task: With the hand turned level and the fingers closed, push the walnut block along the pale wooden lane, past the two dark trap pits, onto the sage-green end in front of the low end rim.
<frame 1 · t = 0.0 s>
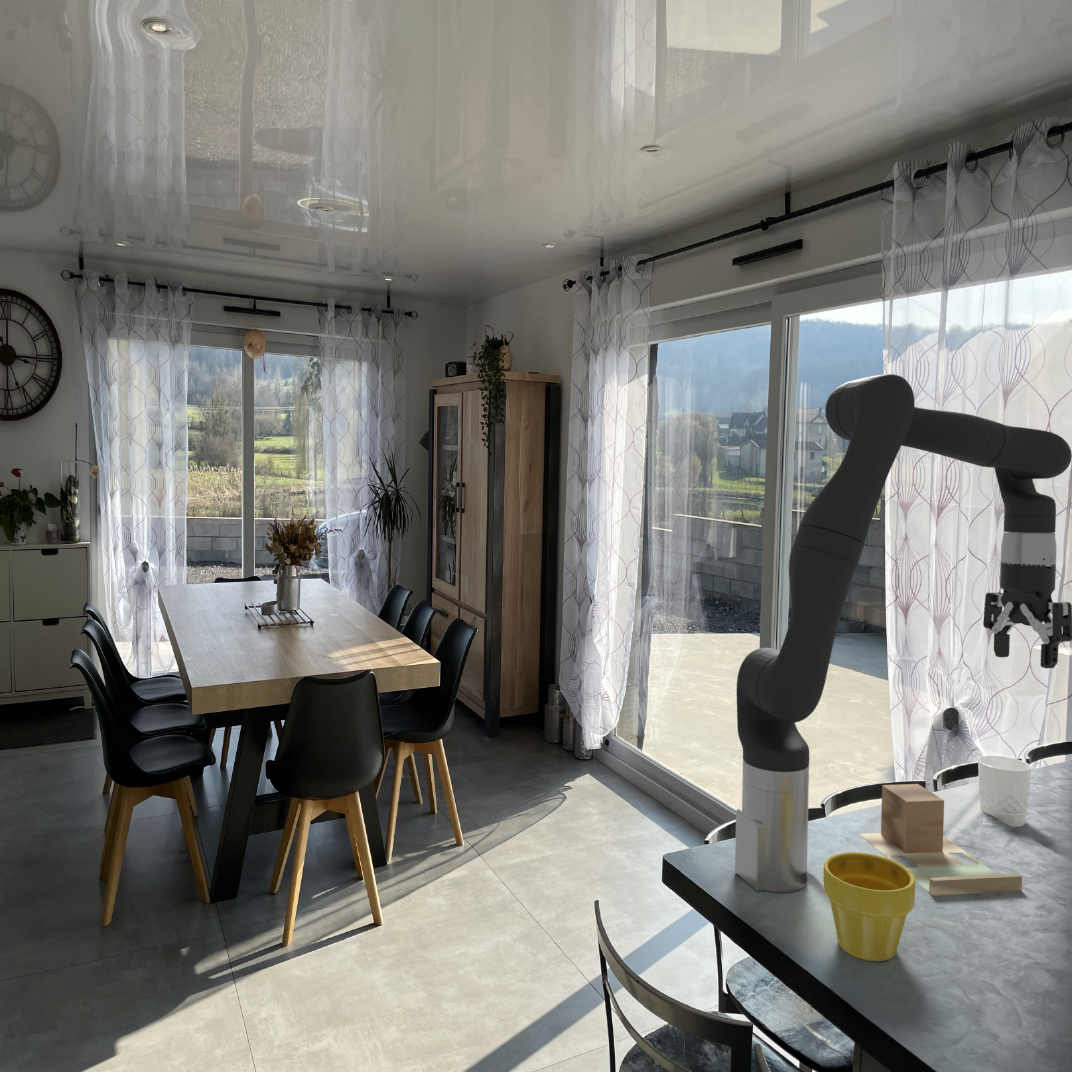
hand: (1024, 662, 129), 29 cm above the table, tool pointing down, fingers open, 8 cm apart
white cup: (1002, 821, 139), on the table
walnut block: (911, 842, 126), point 1 cm above the table, touching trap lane
plant pot: (866, 948, 100), on the table
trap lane: (933, 869, 120), on the table
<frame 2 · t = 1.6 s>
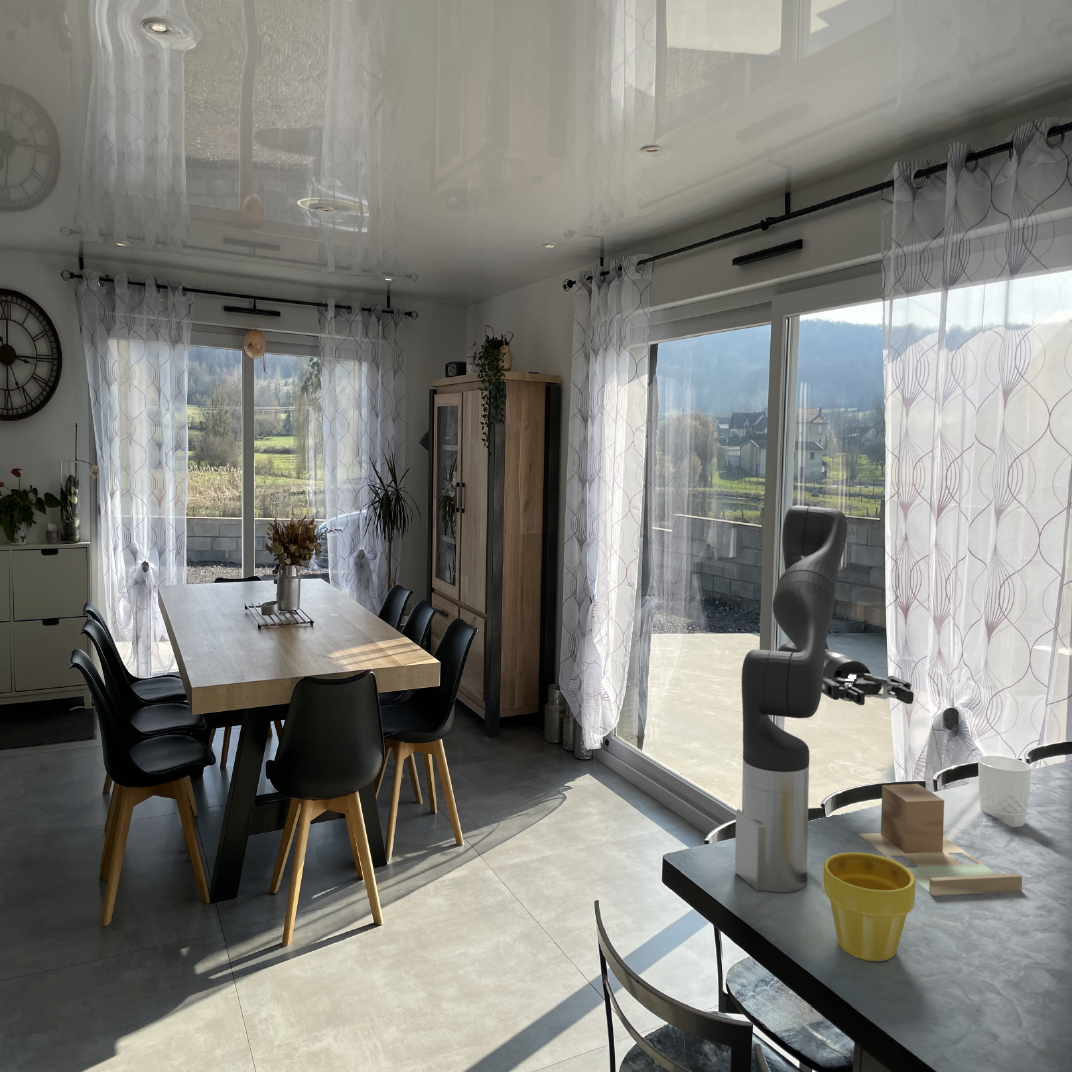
hand: (886, 698, 134), 22 cm above the table, tool horizontal, fingers open, 8 cm apart
nothing on the table moved.
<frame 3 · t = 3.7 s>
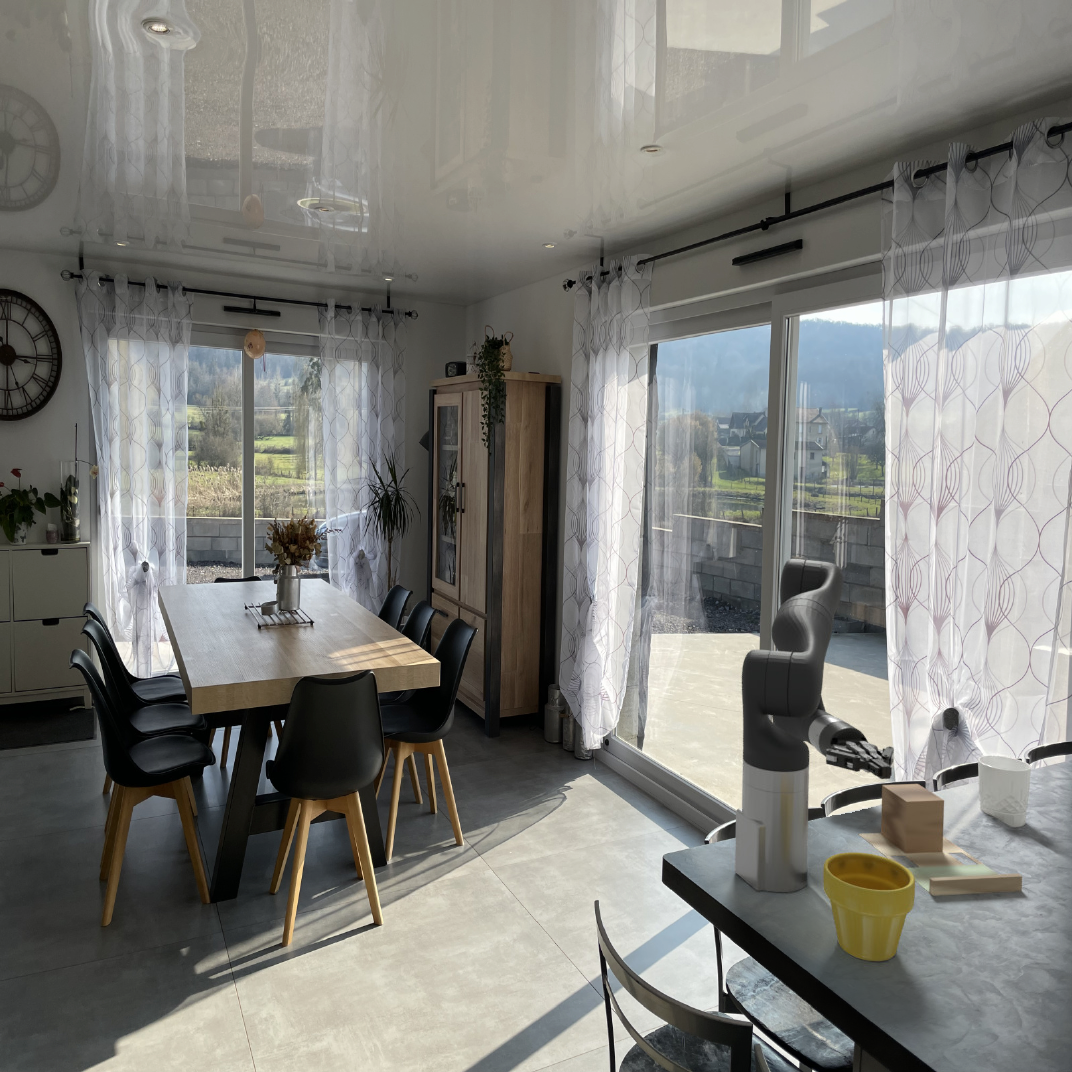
hand: (886, 773, 134), 10 cm above the table, tool horizontal, fingers closed
nothing on the table moved.
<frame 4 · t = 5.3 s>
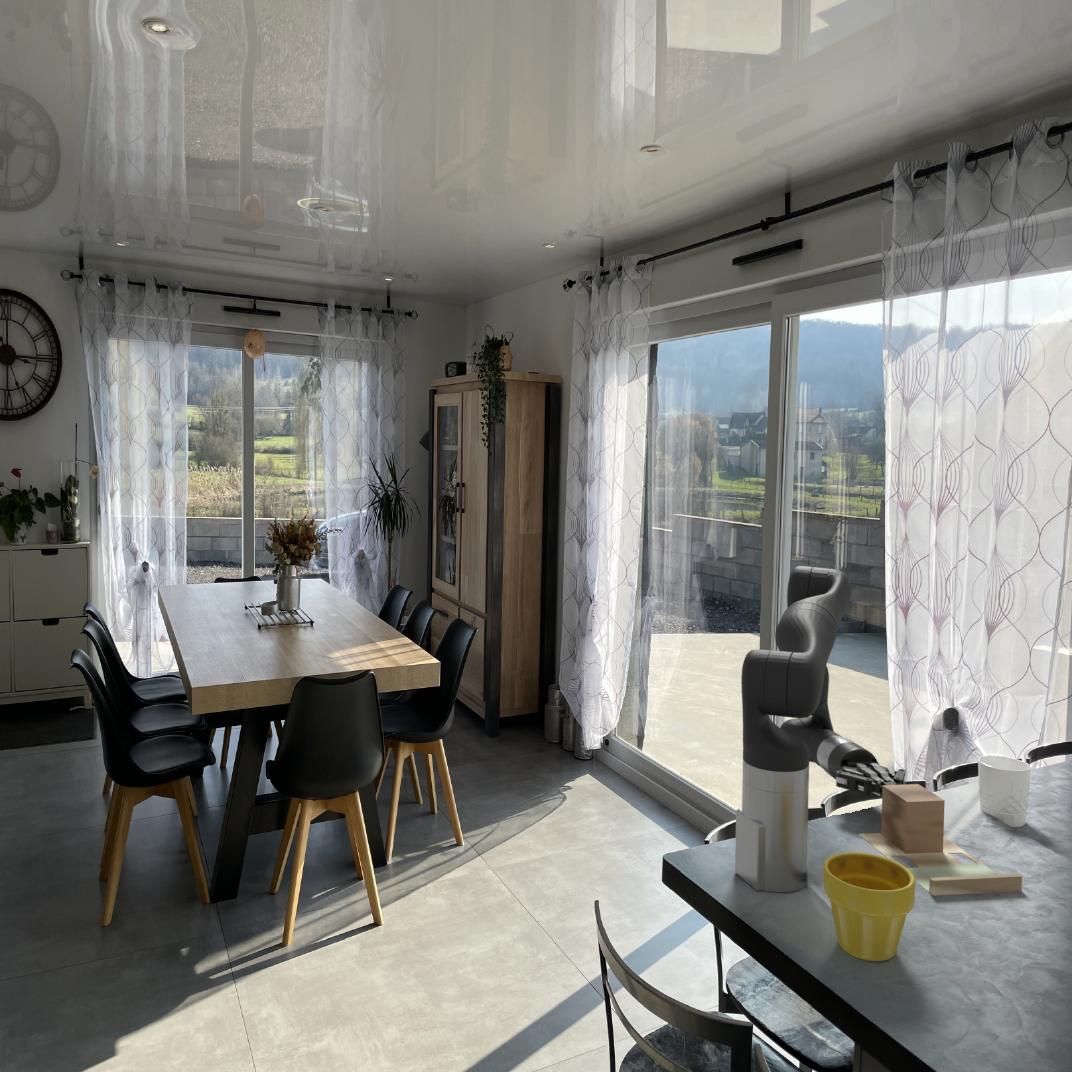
hand: (899, 797, 129), 7 cm above the table, tool horizontal, fingers closed
walnut block: (911, 843, 126), point 2 cm above the table, touching gripper
everything else where it was.
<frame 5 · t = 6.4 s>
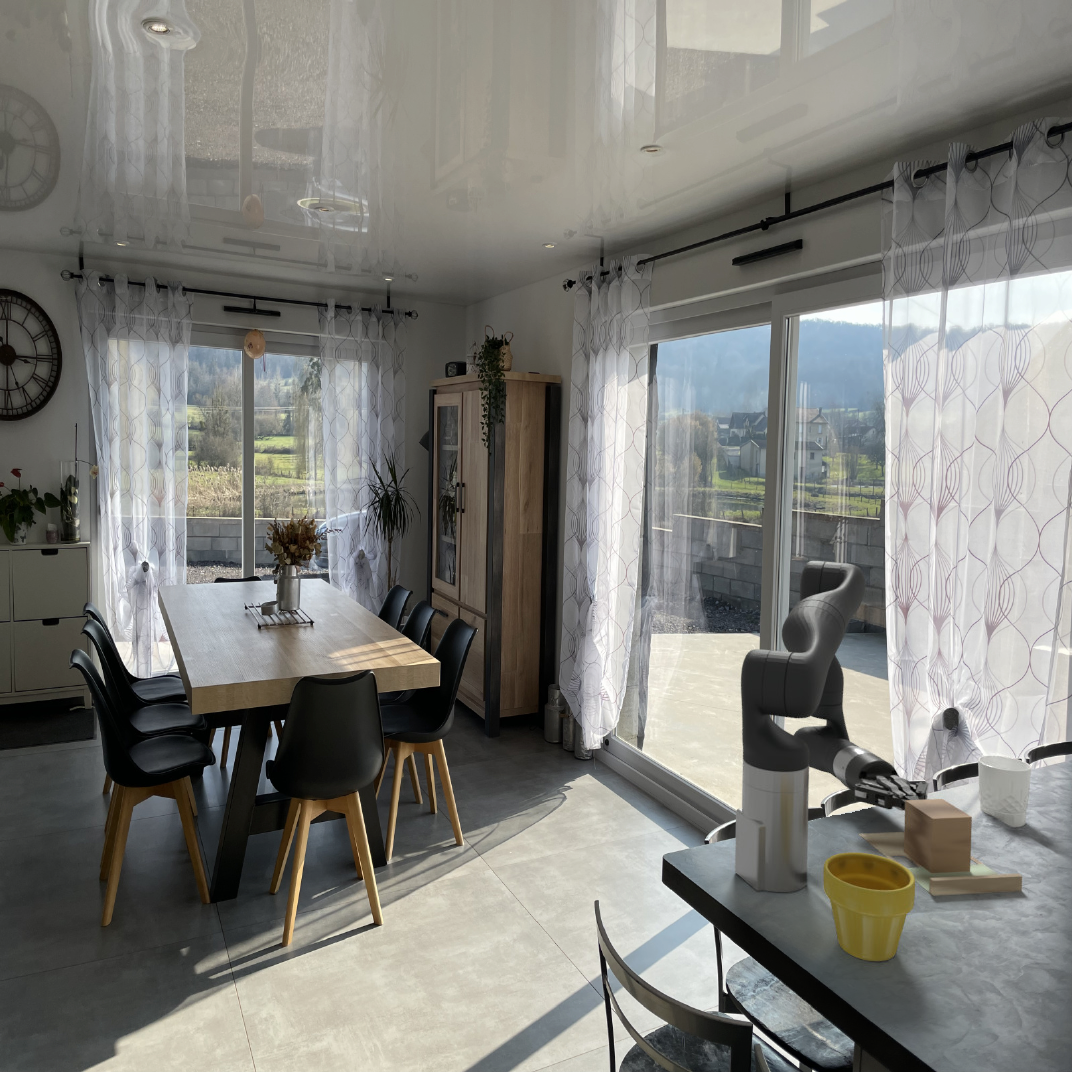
hand: (922, 812, 123), 8 cm above the table, tool horizontal, fingers closed
walnut block: (936, 861, 120), point 1 cm above the table, touching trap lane
everything else where it was.
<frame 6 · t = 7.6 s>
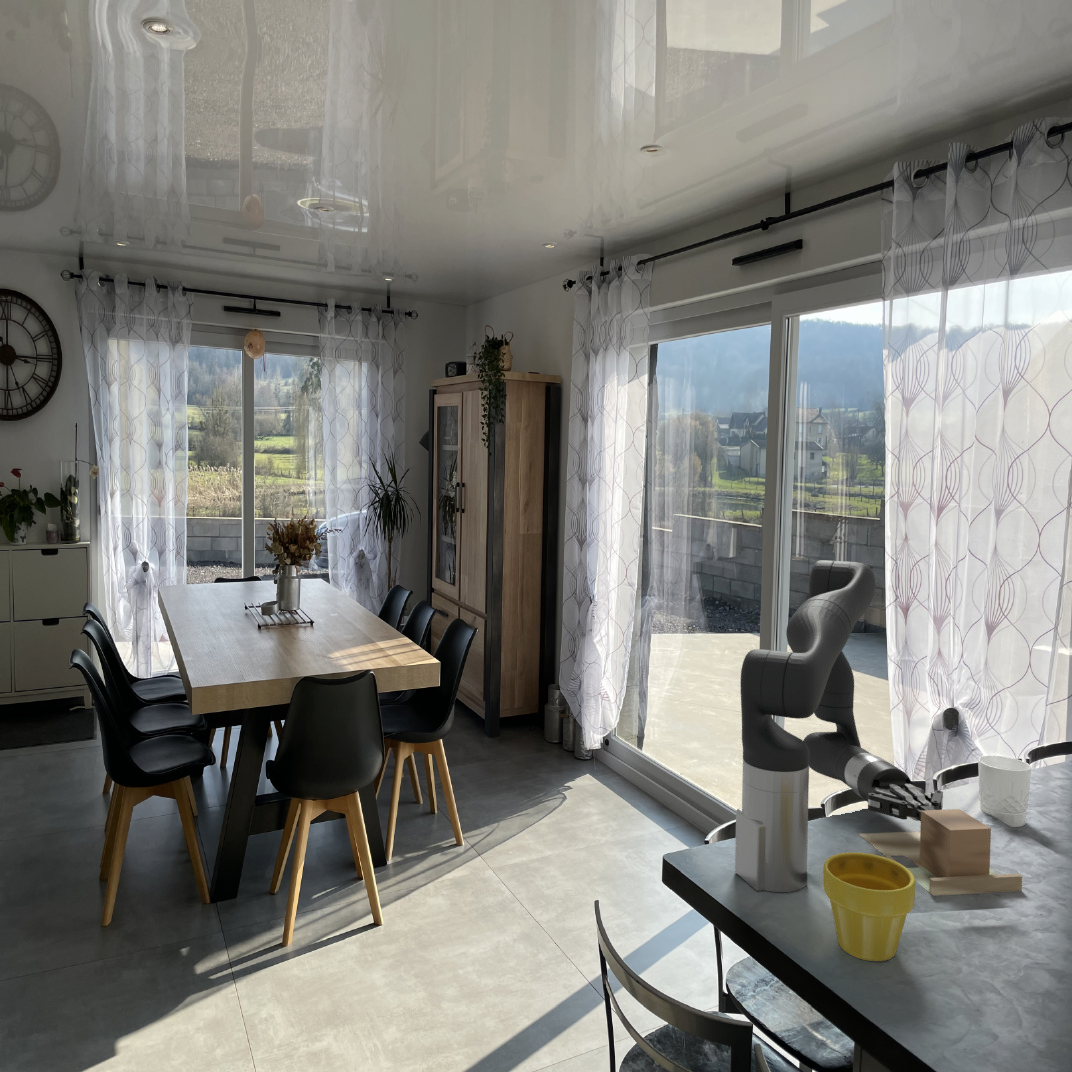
hand: (938, 822, 119), 8 cm above the table, tool horizontal, fingers closed
walnut block: (953, 873, 116), point 2 cm above the table, touching gripper, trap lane
everything else where it was.
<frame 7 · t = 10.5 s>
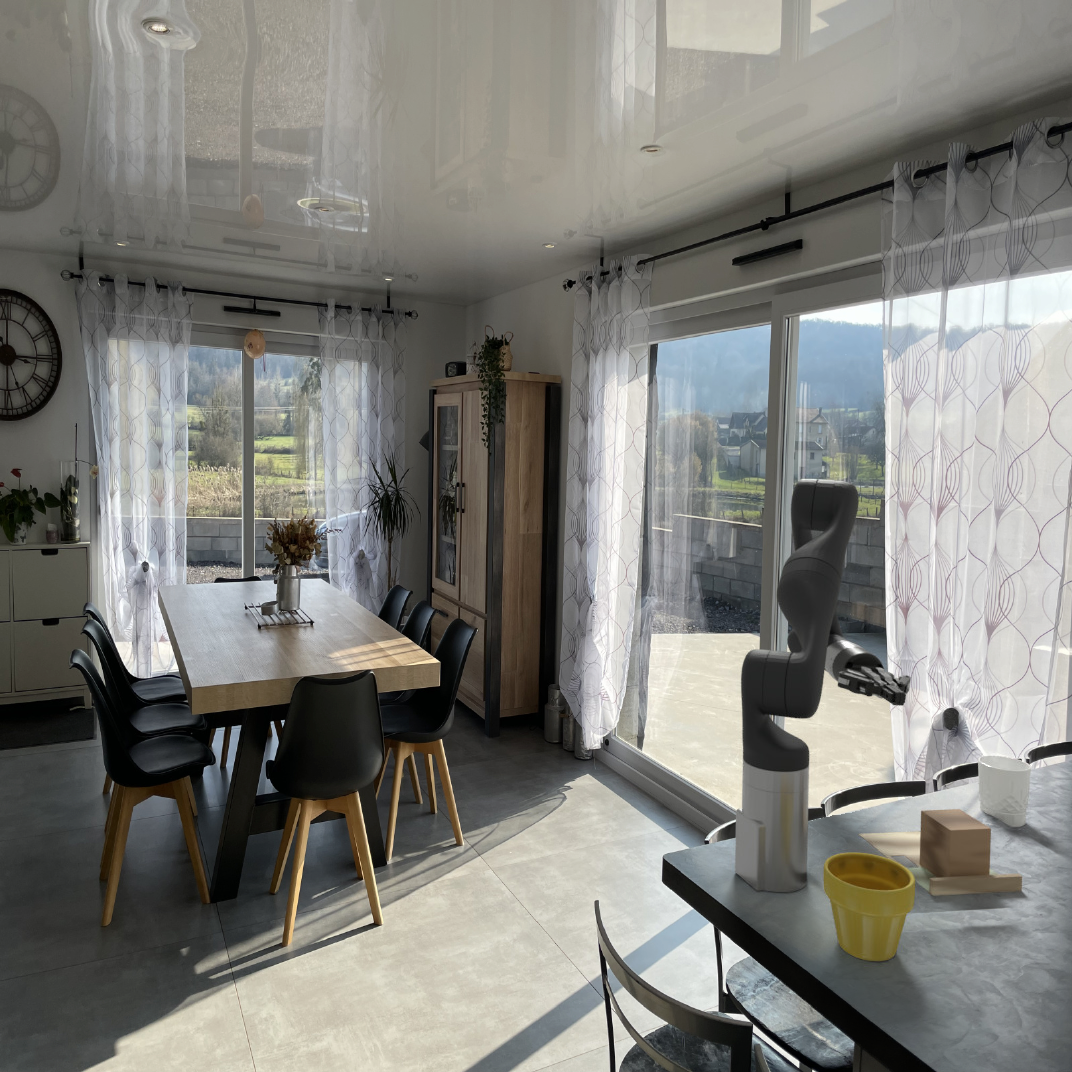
hand: (900, 699, 128), 24 cm above the table, tool horizontal, fingers closed
walnut block: (953, 874, 116), point 1 cm above the table, touching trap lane
everything else where it was.
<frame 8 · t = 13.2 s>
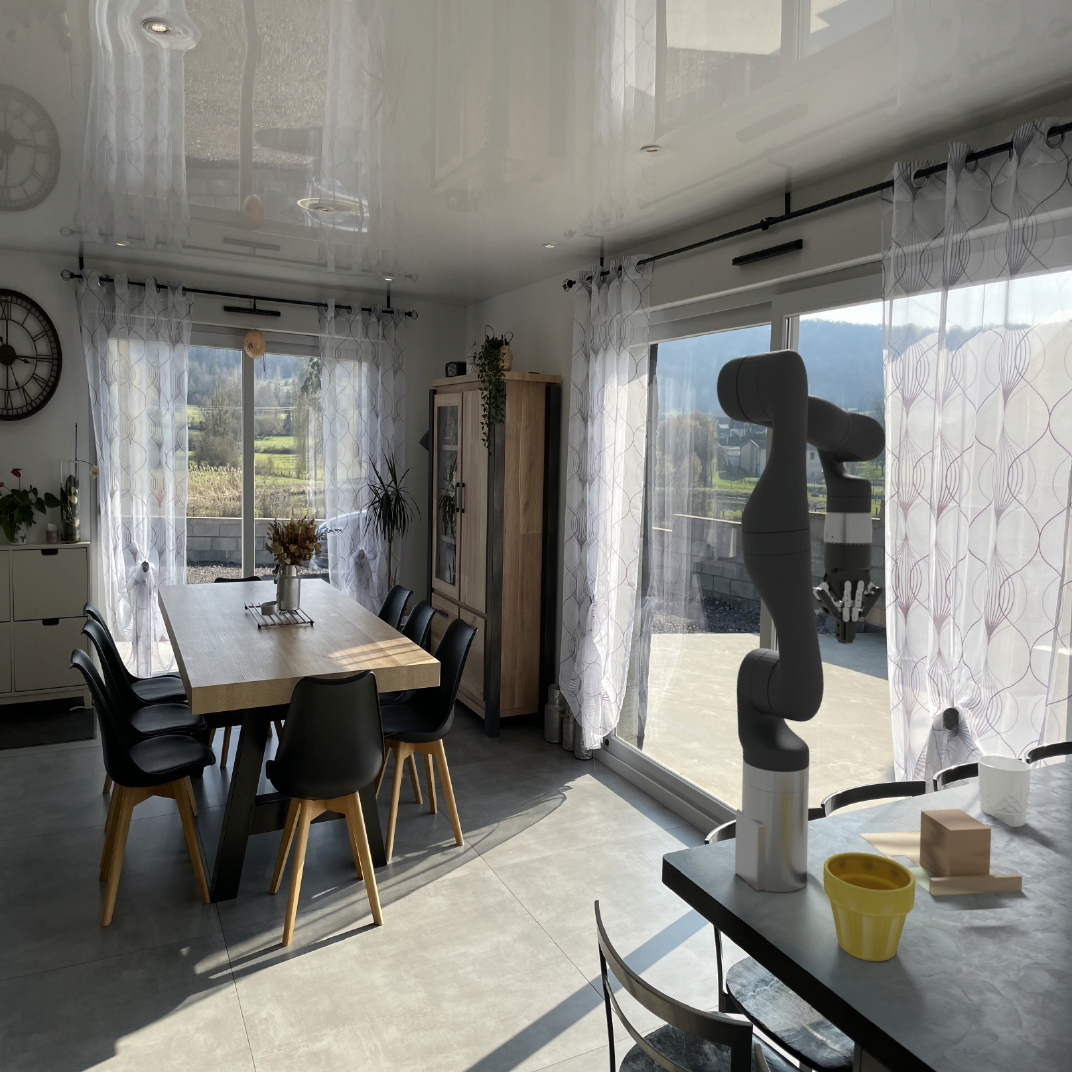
hand: (845, 642, 136), 31 cm above the table, tool pointing down, fingers closed
nothing on the table moved.
at the end: walnut block inside the target area on the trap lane (1.2 cm from its centre), point 1.5 cm above the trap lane's base; walnut block tilted 0° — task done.
